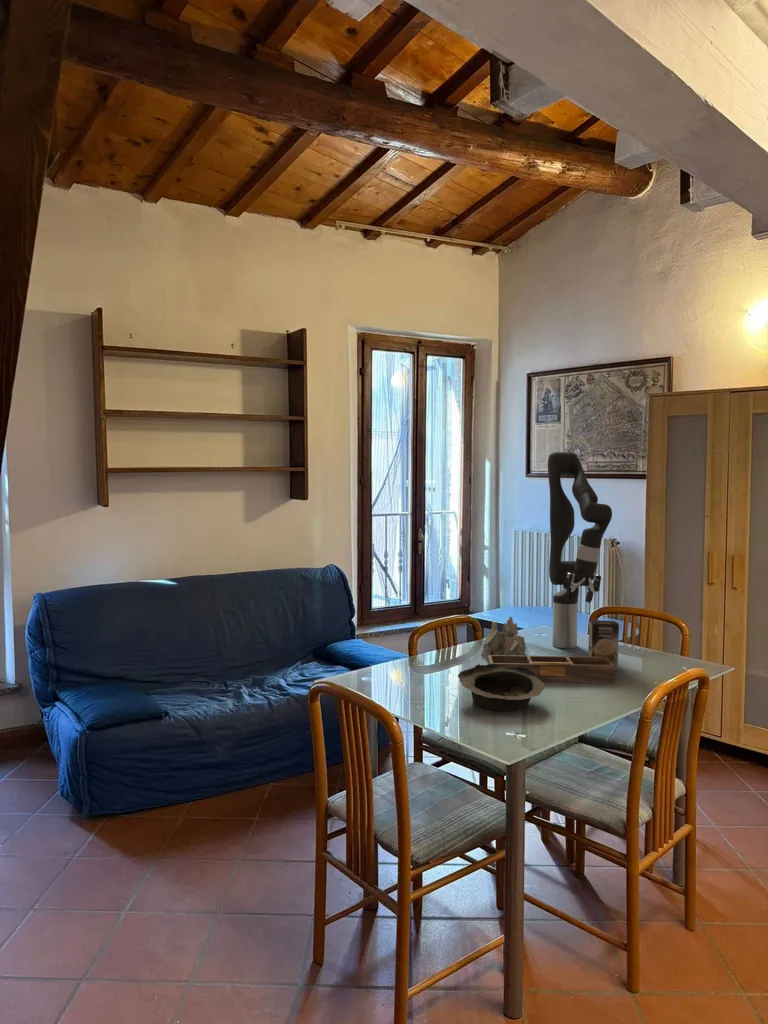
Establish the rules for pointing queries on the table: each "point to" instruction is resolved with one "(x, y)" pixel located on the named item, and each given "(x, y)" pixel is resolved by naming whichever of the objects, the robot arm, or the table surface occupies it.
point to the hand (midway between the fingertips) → (578, 601)
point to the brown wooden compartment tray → (560, 667)
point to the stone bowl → (501, 686)
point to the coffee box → (604, 640)
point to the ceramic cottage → (504, 641)
